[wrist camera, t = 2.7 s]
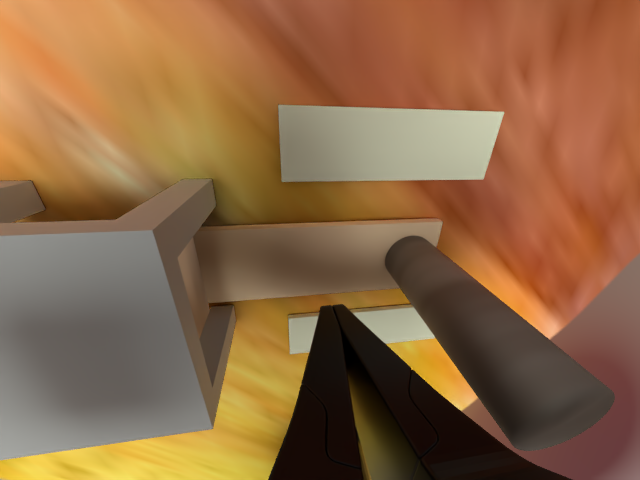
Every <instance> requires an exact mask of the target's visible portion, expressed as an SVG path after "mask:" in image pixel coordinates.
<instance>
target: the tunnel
mask: <svg viewBox="0 0 640 480" xmlns="http://www.w3.org/2000/svg"><path fill="white" fill-rule="evenodd" d="M215 207H216V200H215V194H214V188H213V182H212V179H182V180H180V181H179V182H177V183H175V184H174V185H172V186H170V187H169V188H167V189H165V190H164V191H162V192H160V193H159V194H157V195H156V196H154V197H152V198H151V199H149V200H147V201H146V202H144V203H142V204H141V205H139V206H137V207H136V208H134V209H132V210H131V211H129V212H127V213H126V214H124V215H122V216H121V217H119V218H117V219H116V220H86V221H54V222H21V223H12V222H15V221H17V220H20V219H22V218H25V217H28V216H30V215H33V214H36V213H38V212H41V211H43V210H46V209H45V207H44V205H43V203H42V201H41V199H40V197H39V195H38V193H37V191H36V189H35V187H34V185H33V183H32V181H0V460H5V459H12V458H18V457H25V456H32V455H39V454H46V453H52V452H59V451H66V450H73V449H80V448H86V447H93V446H100V445H107V444H114V443H120V442H127V441H134V440H141V439H148V438H154V437H161V436H168V435H175V434H182V433H188V432H195V431H202V430H209V429H213V426H214V421H215V417H216V412H217V407H218V403H219V398H220V394H221V389H222V384H223V380H224V375H225V371H226V366H227V361H228V357H229V352H230V347H231V343H232V338H233V334H234V329H235V324H236V317H235V311H234V305H225V306H213V307H211V308H210V312H209V314H208V317H207V320H206V322H205V325H204V328H203V331H202V333H201V336H200V339H199V336H198V332H197V329H196V325H195V321H194V318H193V314H192V310H191V307H190V303H189V299H188V295H187V292H186V288H185V284H184V281H183V277H182V273H181V270H180V266H179V262H178V256H179V255H180V254H181V252H182V251H183V250H184V248H185V247H186V246H187V244H188V243H189V242H190V240H191V239H192V238H193V236H194V235H195V234H196V232H197V231H198V229H199V228H200V227H201V225H202V224H203V223H204V221H205V220H206V219H207V217H208V216H209V215H210V213H211V212H212V211H213V209H214V208H215Z"/></svg>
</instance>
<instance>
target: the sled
mask: <svg viewBox="0 0 640 480" xmlns="http://www.w3.org/2000/svg"><path fill="white" fill-rule="evenodd" d="M442 224H443V221H441V220H440V219H438V218H429V219H401V220H374V221H346V222H318V223H291V224H263V225H235V226H207V227H200V228H199V229H198V231H197V232H196V234H195V235H194V236H193V238H192V239H191V240H190V242H189V243H188V244H187V246H186V247H185V248H184V250H183V251H182V252H181V254H180V255H179V256H178V262H179V266H180V270H181V273H182V277H183V281H184V284H185V288H186V292H187V295H188V299H189V303H190V307H191V310H192V314H193V318H194V321H195V325H196V329H197V332H198V336H199V339H200V336H201V333H202V331H203V328H204V325H205V322H206V320H207V317H208V314H209V312H210V309H209V305H208V303H217V302H229V301H242V300H255V299H268V298H281V297H293V296H306V295H319V294H332V293H345V292H358V291H370V290H383V289H396V288H400V289H401V290H402V292H403V293H404V294H405V296H406V297H407V299H408V300H409V301H410V303H411V304H412V306H413V307H414V308H415V310H416V311H417V313H418V314H419V315H420V317H421V318H422V320H423V321H424V322H425V324H426V325H427V326H428V328H429V329H430V331H431V332H432V333H433V335H434V336H435V338H436V339H437V340H438V342H439V343H440V345H441V346H442V347H443V349H444V350H445V352H446V353H447V354H448V356H449V357H450V359H451V360H452V361H453V363H454V364H455V366H456V367H457V368H458V370H459V371H460V373H461V374H462V375H463V377H464V378H465V379H466V381H467V382H468V384H469V385H470V386H471V388H472V389H473V391H474V392H475V393H476V395H477V396H478V398H479V399H480V400H481V402H482V403H483V405H484V406H485V407H486V409H487V410H488V412H489V413H490V414H491V416H492V417H493V419H494V420H495V421H496V423H497V424H498V425H499V427H500V428H501V430H502V431H503V432H504V434H505V435H506V437H507V438H508V439H509V441H510V442H511V444H512V445H513V446H514V447H515V448H517V449H520V450H524V451H532V450H540V449H544V448H548V447H552V446H554V445H557V444H560V443H562V442H565V441H567V440H569V439H571V438H573V437H575V436H577V435H579V434H581V433H582V432H584V431H585V430H587V429H588V428H590V427H591V426H593V425H594V424H595V423H597V422H598V421H599V420H600V419H601V418H602V417H603V416H604V415H605V414H606V413H607V412H608V410H609V409H610V408H611V406H612V404H613V402H614V398H615V396H614V393H613V392H612V390H610V389H609V388H608V387H607V386H605V385H604V384H603V383H602V382H601V381H599V380H598V379H597V378H596V377H594V376H593V375H592V374H591V373H590V372H588V371H587V370H586V369H585V368H583V367H582V366H581V365H580V364H578V363H577V362H576V361H575V360H574V359H572V358H571V357H570V356H569V355H567V354H566V353H565V352H564V351H563V350H561V349H560V348H559V347H558V346H556V345H555V344H554V343H553V342H552V341H550V340H549V339H548V338H547V337H545V336H544V335H543V334H542V333H540V332H539V331H538V330H537V329H536V328H534V327H533V326H532V325H531V324H529V323H528V322H527V321H526V320H524V319H523V318H522V317H521V316H520V315H518V314H517V313H516V312H515V311H513V310H512V309H511V308H510V307H508V306H507V305H506V304H505V303H504V302H502V301H501V300H500V299H499V298H497V297H496V296H495V295H494V294H493V293H491V292H490V291H489V290H488V289H486V288H485V287H484V286H483V285H481V284H480V283H479V282H478V281H477V280H475V279H474V278H473V277H472V276H470V275H469V274H468V273H467V272H465V271H464V270H463V269H462V268H461V267H459V266H458V265H457V264H456V263H454V262H453V261H452V260H451V259H449V258H448V257H447V256H446V255H445V254H443V253H442V252H441V251H440V250H438V249H437V248H436V247H437V244H438V240H439V236H440V232H441V228H442Z"/></svg>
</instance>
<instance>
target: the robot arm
mask: <svg viewBox="0 0 640 480" xmlns="http://www.w3.org/2000/svg"><path fill="white" fill-rule="evenodd" d="M268 480H572V479H569V478H567V477H564V476H562V475H559V474H557V473H554V472H551V471H549V470H547V469H544V468H542V467H539V466H537V465H535V464H533V463H531V462H529V461H527V460H526V459H524V458H522V457H521V456H519V455H517V454H516V453H514V452H513V451H511V450H510V449H509V448H507V447H506V446H505V445H503V444H502V443H501V442H499V441H498V440H497V439H495V438H494V437H493V436H491V435H490V434H489V433H488V432H486V431H485V430H484V429H483V428H482V427H480V426H479V425H478V424H476V423H475V422H474V421H473V420H472V419H470V418H469V417H468V416H466V415H465V414H464V413H463V412H461V411H460V410H459V409H458V408H456V407H455V406H454V405H453V404H451V403H450V402H449V401H448V400H447V399H445V398H444V397H443V396H442V395H441V394H439V393H438V392H437V391H436V390H435V389H434V388H432V387H431V386H430V385H429V384H428V383H427V382H426V381H425V380H424V379H422V378H421V377H420V376H419V375H418V374H417V373H416V372H415V371H414V370H411V367H409V366H408V365H407V364H406V363H405V362H404V361H403V360H402V359H401V358H400V357H399V356H398V355H397V354H396V353H395V352H393V351H392V350H391V349H390V348H389V347H388V346H387V345H386V344H385V343H384V342H383V341H382V340H381V339H380V338H379V337H378V336H376V335H375V334H374V333H373V332H372V331H371V330H370V329H369V328H368V327H367V326H366V325H365V324H364V323H363V322H362V321H360V320H359V319H358V318H357V317H356V316H355V315H354V314H353V313H352V312H351V311H350V310H349V309H348V308H347V307H346V306H344V305H343V304H339V305H333V306H331V305H329V306H322V307H321V308H320V312H319V316H318V320H317V324H316V328H315V332H314V336H313V340H312V344H311V348H310V352H309V356H308V360H307V364H306V368H305V372H304V376H303V380H302V385H301V387H300V391H299V395H298V399H297V402H296V406H295V409H294V412H293V416H292V418H291V421H290V424H289V427H288V430H287V433H286V435H285V438H284V440H283V443H282V446H281V448H280V451H279V453H278V456H277V458H276V461H275V463H274V466H273V469H272V471H271V474H270V476H269V479H268Z"/></svg>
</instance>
